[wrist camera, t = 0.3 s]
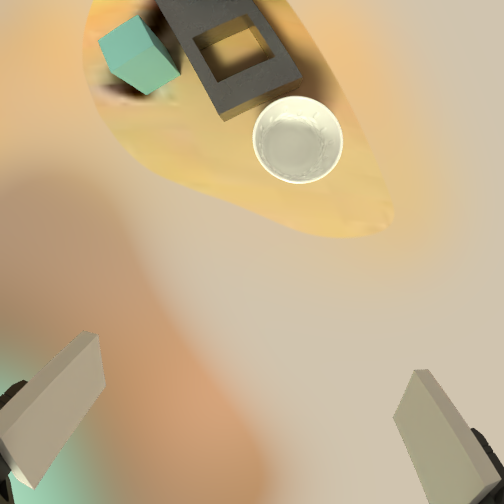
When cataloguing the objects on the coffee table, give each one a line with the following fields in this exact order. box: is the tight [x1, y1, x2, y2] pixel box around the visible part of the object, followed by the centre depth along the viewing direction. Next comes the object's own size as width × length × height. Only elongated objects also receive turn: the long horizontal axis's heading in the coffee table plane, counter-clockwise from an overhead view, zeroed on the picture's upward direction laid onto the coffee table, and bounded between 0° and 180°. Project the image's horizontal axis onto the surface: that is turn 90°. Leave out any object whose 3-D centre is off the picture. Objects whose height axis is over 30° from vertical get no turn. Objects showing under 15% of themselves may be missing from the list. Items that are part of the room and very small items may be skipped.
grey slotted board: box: [155, 0, 303, 122], centre depth 30 cm, size 20×10×4 cm, turn 27°
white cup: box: [253, 96, 343, 184], centre depth 30 cm, size 8×8×10 cm
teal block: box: [98, 15, 180, 95], centre depth 28 cm, size 5×5×10 cm
